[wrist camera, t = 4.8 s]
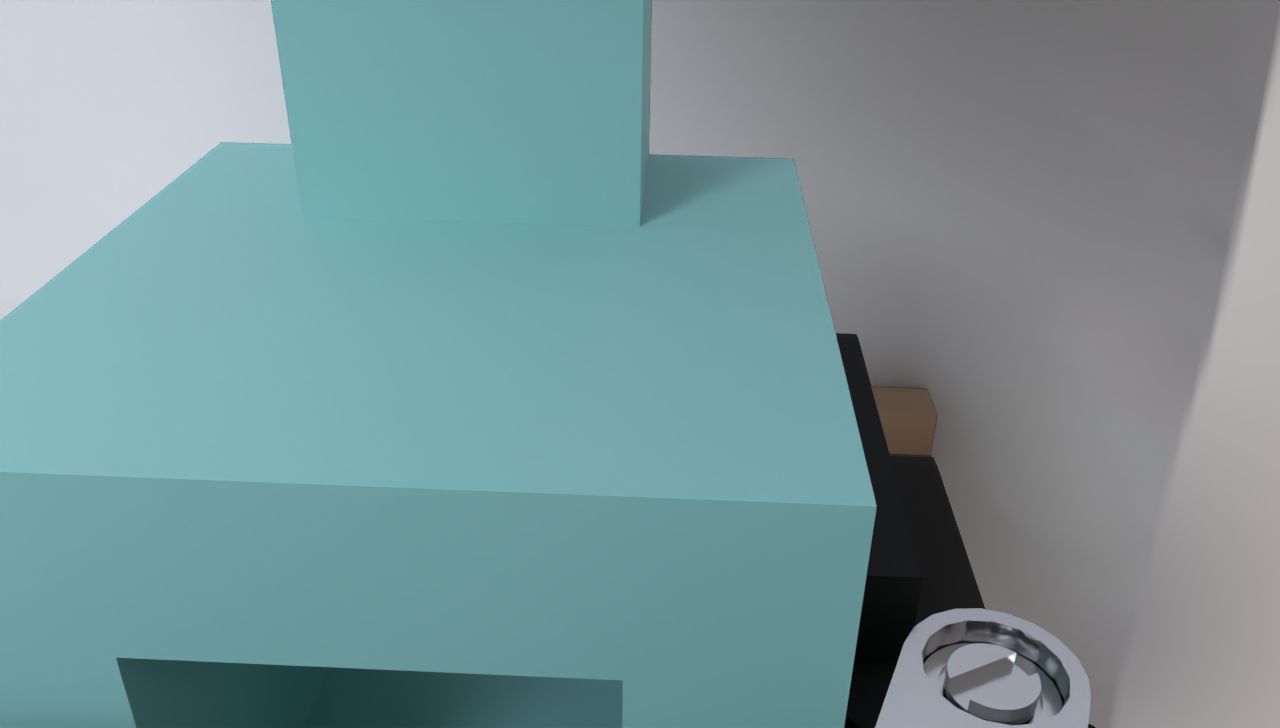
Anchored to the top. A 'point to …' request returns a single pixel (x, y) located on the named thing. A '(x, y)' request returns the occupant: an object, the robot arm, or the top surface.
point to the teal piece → (438, 412)
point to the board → (906, 419)
